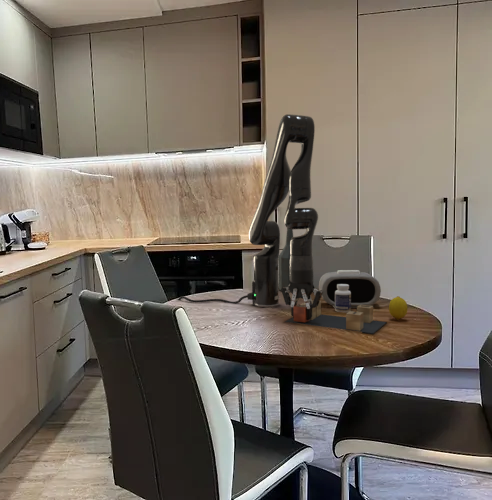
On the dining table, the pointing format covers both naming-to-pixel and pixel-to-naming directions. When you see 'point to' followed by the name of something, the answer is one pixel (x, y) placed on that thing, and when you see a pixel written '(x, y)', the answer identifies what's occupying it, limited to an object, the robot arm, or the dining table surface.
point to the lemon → (398, 307)
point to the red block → (300, 313)
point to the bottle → (285, 262)
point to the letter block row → (359, 317)
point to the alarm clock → (351, 287)
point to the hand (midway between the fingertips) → (301, 318)
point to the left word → (315, 310)
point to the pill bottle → (342, 298)
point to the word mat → (340, 323)
